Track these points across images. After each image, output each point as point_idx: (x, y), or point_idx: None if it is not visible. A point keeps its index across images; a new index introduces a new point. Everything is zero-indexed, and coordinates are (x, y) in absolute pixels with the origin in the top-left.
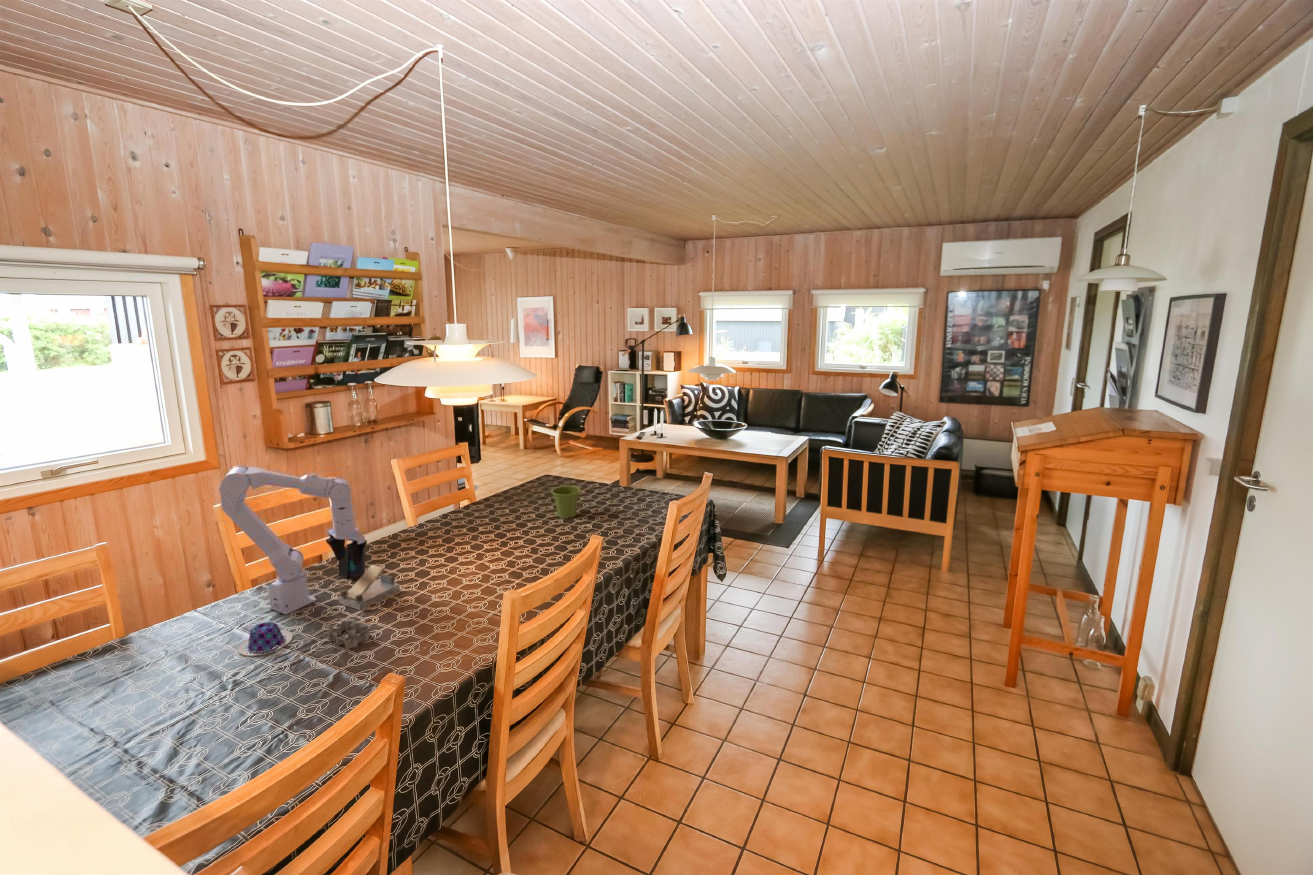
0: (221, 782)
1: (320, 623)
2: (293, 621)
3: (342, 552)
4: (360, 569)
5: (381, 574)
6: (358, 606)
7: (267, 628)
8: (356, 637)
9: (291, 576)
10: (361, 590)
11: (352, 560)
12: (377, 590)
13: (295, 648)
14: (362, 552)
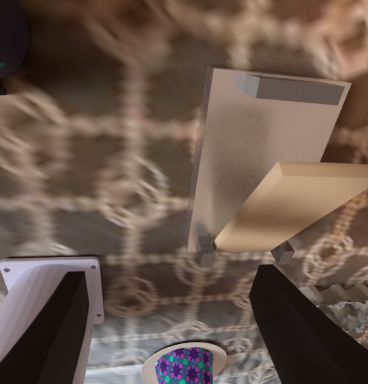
0: None
1: (222, 301)
2: (153, 321)
3: (69, 325)
4: (12, 25)
5: (257, 87)
6: None
7: None
8: (360, 316)
9: None
10: (277, 239)
11: (262, 333)
12: None
13: (248, 349)
14: (342, 334)
